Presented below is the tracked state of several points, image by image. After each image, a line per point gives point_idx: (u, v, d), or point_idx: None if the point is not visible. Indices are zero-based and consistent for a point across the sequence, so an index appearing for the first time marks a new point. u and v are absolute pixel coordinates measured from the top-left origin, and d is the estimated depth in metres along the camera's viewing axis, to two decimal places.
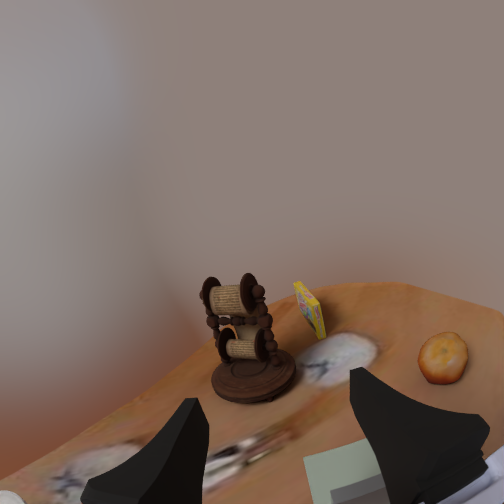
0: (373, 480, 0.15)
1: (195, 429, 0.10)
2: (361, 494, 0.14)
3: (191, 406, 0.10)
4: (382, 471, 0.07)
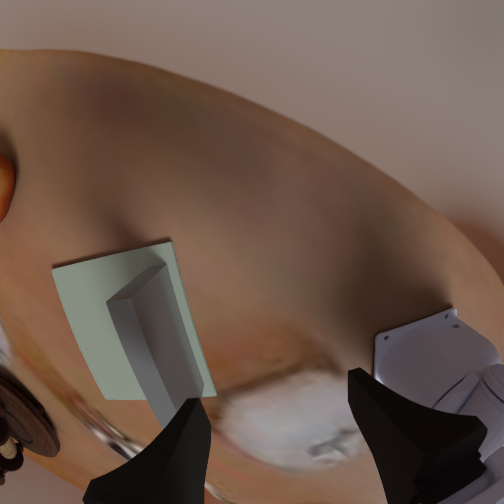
0: (158, 408, 0.14)
1: (197, 429, 0.10)
2: None
3: (193, 406, 0.10)
4: (380, 472, 0.07)
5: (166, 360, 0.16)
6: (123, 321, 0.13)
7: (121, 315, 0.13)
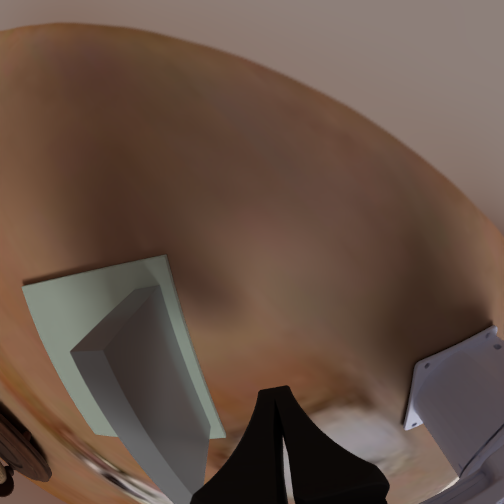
0: (155, 474, 0.09)
1: (277, 420, 0.10)
2: (183, 488, 0.10)
3: (273, 396, 0.10)
4: None
5: (163, 420, 0.10)
6: (96, 379, 0.08)
7: (93, 371, 0.08)
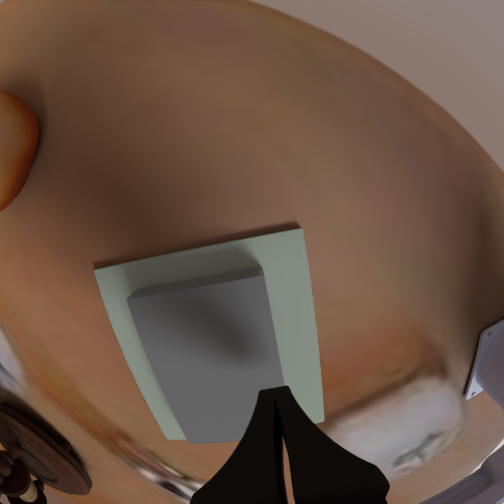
0: None
1: (277, 420, 0.10)
2: (178, 421, 0.15)
3: (273, 396, 0.10)
4: None
5: (182, 375, 0.14)
6: None
7: None
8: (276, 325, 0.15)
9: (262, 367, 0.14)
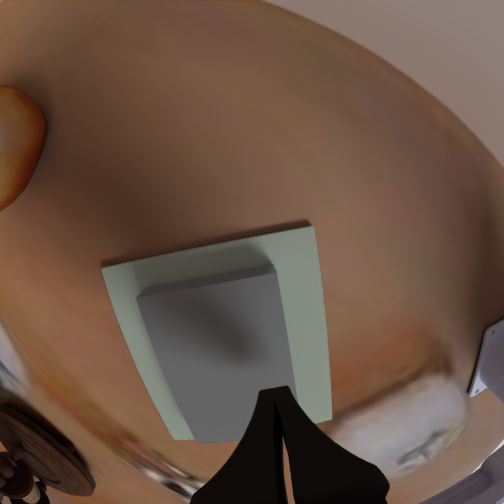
0: None
1: (277, 420, 0.10)
2: (186, 421, 0.15)
3: (273, 396, 0.10)
4: None
5: (192, 374, 0.14)
6: None
7: None
8: (286, 323, 0.15)
9: (273, 365, 0.14)
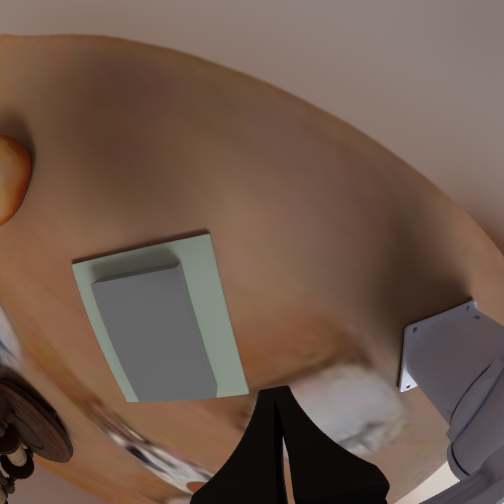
0: None
1: (277, 420, 0.10)
2: (129, 380, 0.20)
3: (273, 396, 0.10)
4: None
5: (128, 341, 0.19)
6: None
7: None
8: (195, 307, 0.20)
9: (182, 337, 0.19)
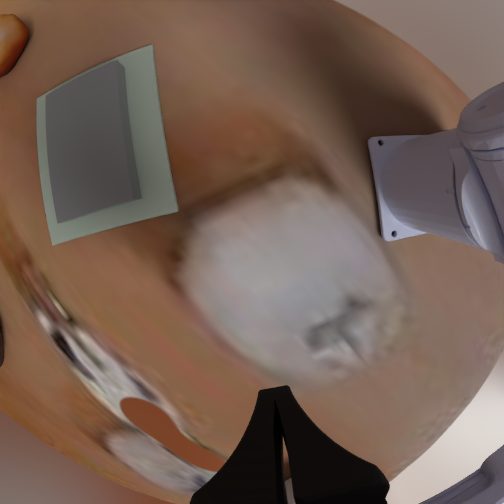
0: None
1: (277, 420, 0.10)
2: (53, 194, 0.17)
3: (273, 396, 0.10)
4: None
5: (61, 140, 0.16)
6: None
7: None
8: (130, 104, 0.17)
9: (108, 121, 0.16)
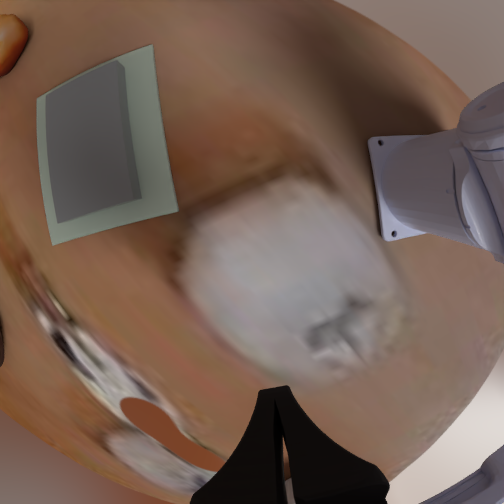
0: None
1: (277, 420, 0.10)
2: (53, 194, 0.17)
3: (273, 396, 0.10)
4: None
5: (61, 140, 0.16)
6: None
7: None
8: (130, 104, 0.17)
9: (108, 121, 0.16)
